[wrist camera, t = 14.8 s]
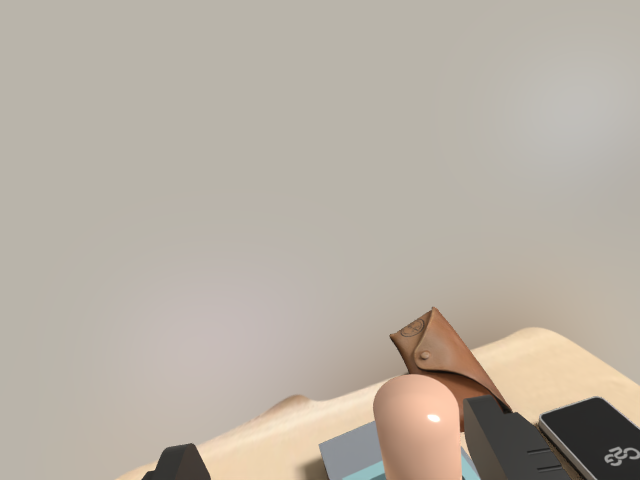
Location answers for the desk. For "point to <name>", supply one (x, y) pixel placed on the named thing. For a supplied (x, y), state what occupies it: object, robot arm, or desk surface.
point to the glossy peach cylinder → (418, 429)
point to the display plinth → (367, 456)
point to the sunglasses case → (445, 359)
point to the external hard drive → (594, 439)
